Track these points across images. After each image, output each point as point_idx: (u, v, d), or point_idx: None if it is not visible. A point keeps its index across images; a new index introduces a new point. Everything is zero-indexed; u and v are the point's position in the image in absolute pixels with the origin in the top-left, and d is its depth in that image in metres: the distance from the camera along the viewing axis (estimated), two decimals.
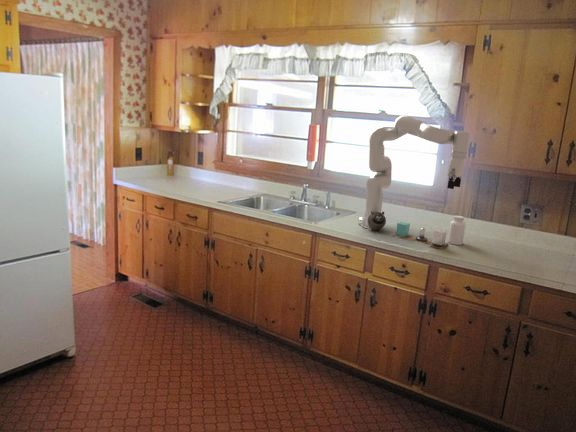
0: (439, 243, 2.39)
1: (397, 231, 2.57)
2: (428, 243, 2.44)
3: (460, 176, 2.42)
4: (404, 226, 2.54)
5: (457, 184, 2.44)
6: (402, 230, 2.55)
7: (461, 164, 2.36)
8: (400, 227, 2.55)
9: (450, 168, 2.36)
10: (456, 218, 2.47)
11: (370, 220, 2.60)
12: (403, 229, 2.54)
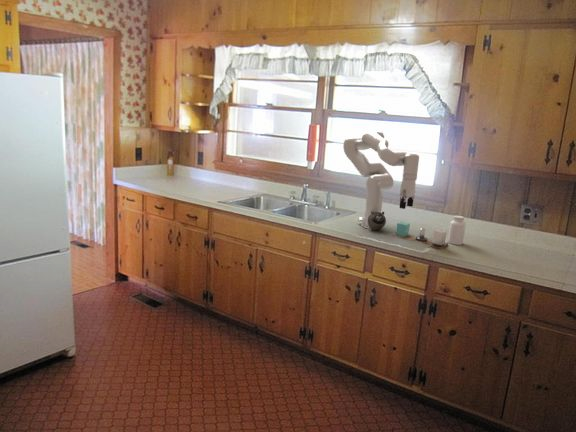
0: (439, 243, 2.39)
1: (397, 231, 2.57)
2: (428, 243, 2.44)
3: None
4: (404, 226, 2.54)
5: (410, 204, 2.57)
6: (402, 230, 2.55)
7: (412, 185, 2.49)
8: (400, 227, 2.55)
9: (401, 189, 2.49)
10: (456, 218, 2.47)
11: (370, 220, 2.60)
12: (403, 229, 2.54)
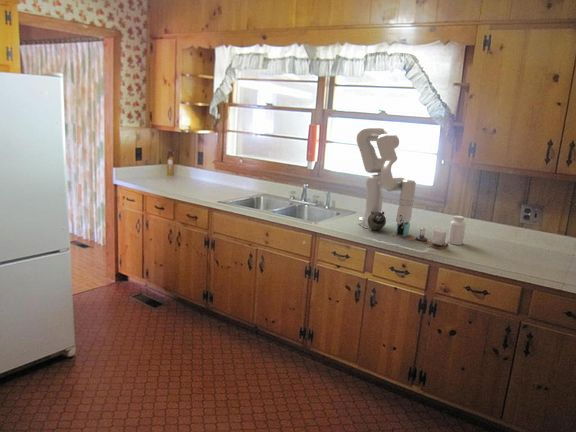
0: (439, 243, 2.39)
1: (397, 231, 2.57)
2: (428, 243, 2.44)
3: (407, 222, 2.58)
4: (404, 226, 2.54)
5: None
6: None
7: (408, 211, 2.53)
8: None
9: (398, 214, 2.52)
10: (456, 218, 2.47)
11: (370, 220, 2.60)
12: None
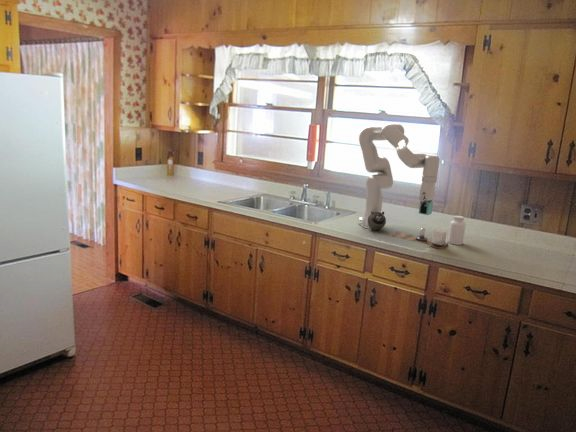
0: (439, 243, 2.39)
1: None
2: (428, 243, 2.44)
3: (431, 200, 2.46)
4: (427, 204, 2.42)
5: None
6: None
7: (432, 188, 2.41)
8: None
9: (421, 192, 2.41)
10: (456, 218, 2.47)
11: (370, 220, 2.60)
12: None
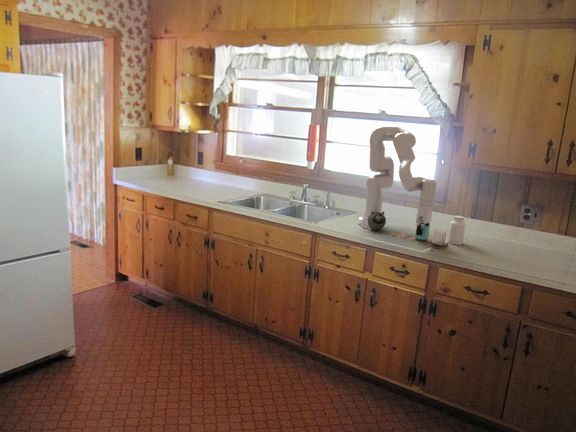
0: (439, 243, 2.39)
1: None
2: (428, 243, 2.44)
3: (428, 222, 2.50)
4: (424, 229, 2.45)
5: None
6: (422, 233, 2.46)
7: (429, 211, 2.44)
8: None
9: (418, 215, 2.44)
10: (456, 218, 2.47)
11: (370, 220, 2.60)
12: (423, 232, 2.46)
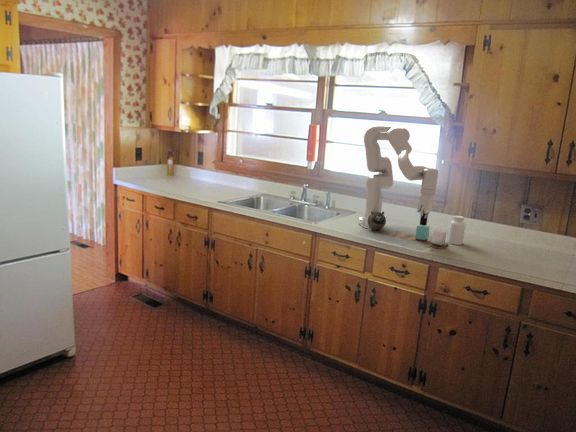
0: (439, 243, 2.39)
1: (417, 234, 2.48)
2: (428, 243, 2.44)
3: (427, 213, 2.47)
4: (424, 229, 2.45)
5: None
6: (422, 233, 2.46)
7: (430, 200, 2.42)
8: (420, 230, 2.47)
9: (419, 204, 2.42)
10: (456, 218, 2.47)
11: (370, 220, 2.60)
12: (423, 232, 2.46)
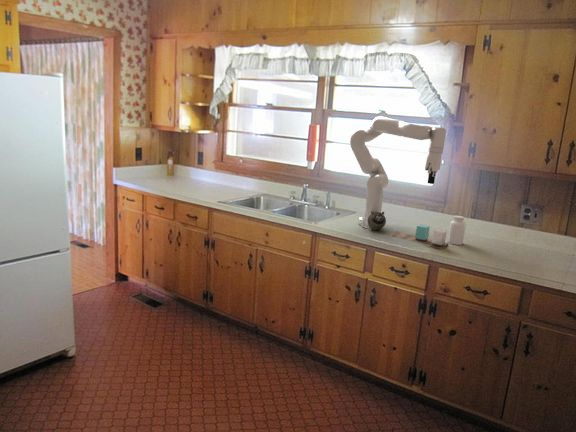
0: (439, 243, 2.39)
1: (417, 234, 2.48)
2: (428, 243, 2.44)
3: (435, 172, 2.53)
4: (424, 229, 2.45)
5: None
6: (422, 233, 2.46)
7: (438, 159, 2.49)
8: (420, 230, 2.47)
9: (427, 162, 2.49)
10: (456, 218, 2.47)
11: (370, 220, 2.60)
12: (423, 232, 2.46)
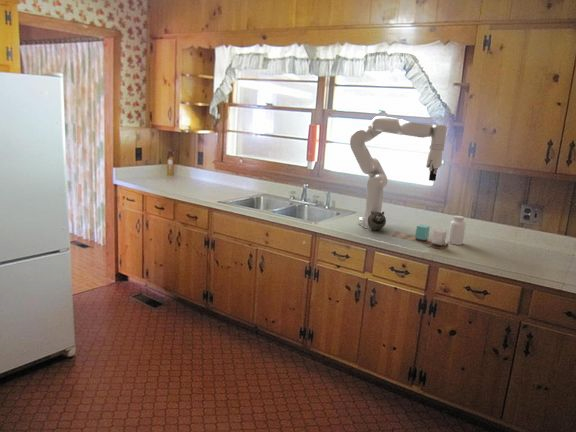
0: (439, 243, 2.39)
1: (417, 234, 2.48)
2: (428, 243, 2.44)
3: (436, 169, 2.55)
4: (424, 229, 2.45)
5: None
6: (422, 233, 2.46)
7: (439, 156, 2.51)
8: (420, 230, 2.47)
9: (428, 160, 2.50)
10: (456, 218, 2.47)
11: (370, 220, 2.60)
12: (423, 232, 2.46)
